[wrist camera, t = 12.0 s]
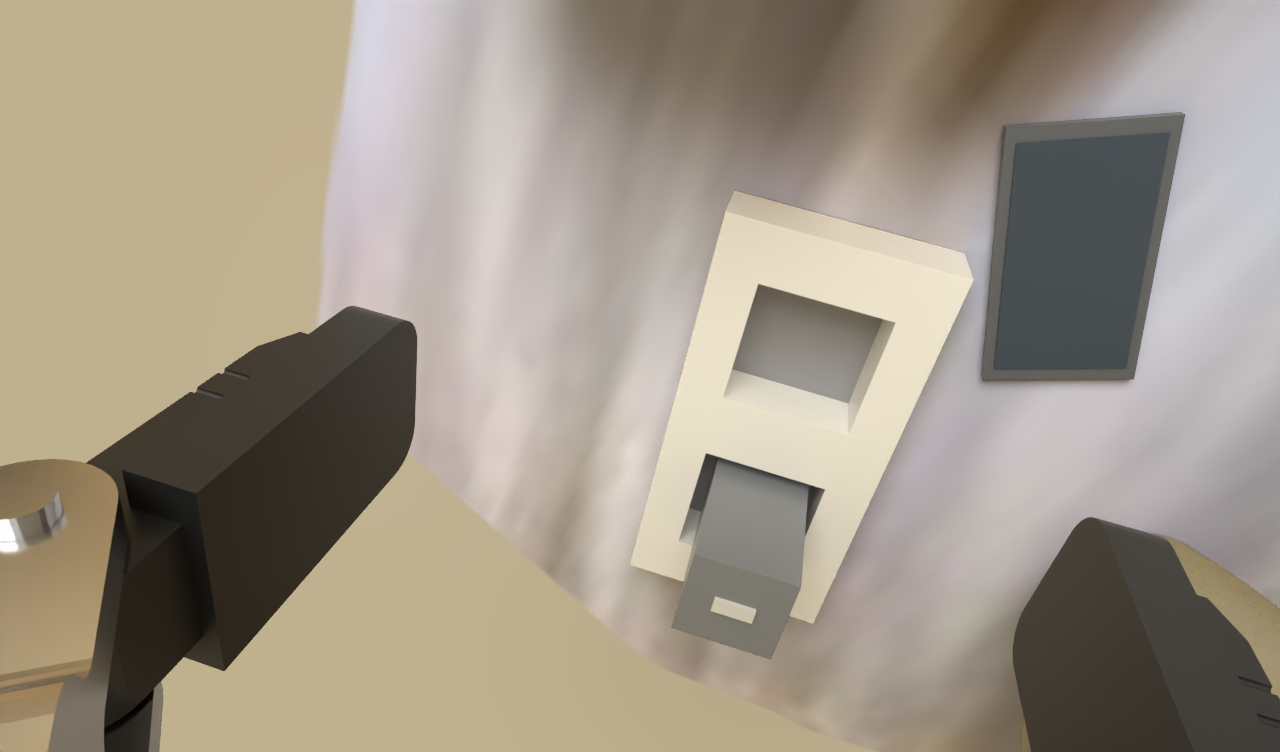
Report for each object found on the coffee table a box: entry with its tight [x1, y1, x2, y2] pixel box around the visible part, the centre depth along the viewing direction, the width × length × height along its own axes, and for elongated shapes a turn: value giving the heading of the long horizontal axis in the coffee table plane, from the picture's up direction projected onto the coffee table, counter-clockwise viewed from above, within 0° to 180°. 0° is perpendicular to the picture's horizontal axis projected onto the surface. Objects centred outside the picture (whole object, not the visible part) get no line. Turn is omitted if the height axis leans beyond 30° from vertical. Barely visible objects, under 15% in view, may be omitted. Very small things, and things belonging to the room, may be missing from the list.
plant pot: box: [1020, 534, 1280, 752], centre depth 32 cm, size 15×15×16 cm
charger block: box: [672, 457, 809, 659], centre depth 37 cm, size 4×4×9 cm
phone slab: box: [981, 112, 1185, 380], centre depth 32 cm, size 6×11×1 cm, turn 8°
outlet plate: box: [630, 191, 973, 624], centre depth 38 cm, size 10×20×3 cm, turn 169°
